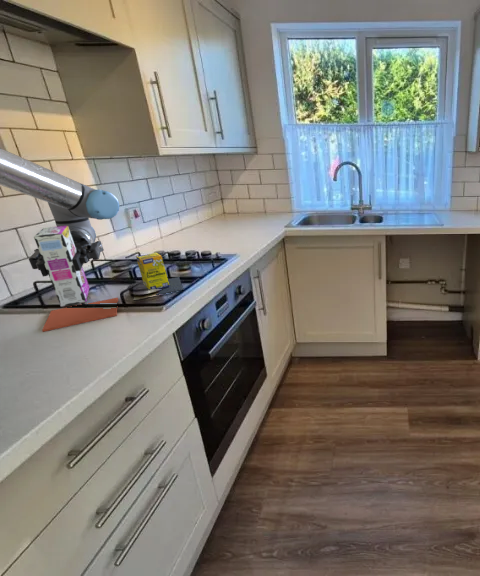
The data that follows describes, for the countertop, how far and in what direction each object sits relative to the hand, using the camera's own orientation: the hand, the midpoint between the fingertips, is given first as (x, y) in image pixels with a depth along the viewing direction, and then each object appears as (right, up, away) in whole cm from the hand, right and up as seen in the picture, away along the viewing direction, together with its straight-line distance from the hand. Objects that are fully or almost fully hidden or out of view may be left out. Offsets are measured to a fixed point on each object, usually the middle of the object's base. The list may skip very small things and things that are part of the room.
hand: (59, 267), depth 79 cm
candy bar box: (-3, -7, +8) cm, 11 cm away
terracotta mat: (-15, -12, +24) cm, 31 cm away
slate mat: (-4, -5, +41) cm, 41 cm away
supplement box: (-4, -4, +41) cm, 41 cm away
